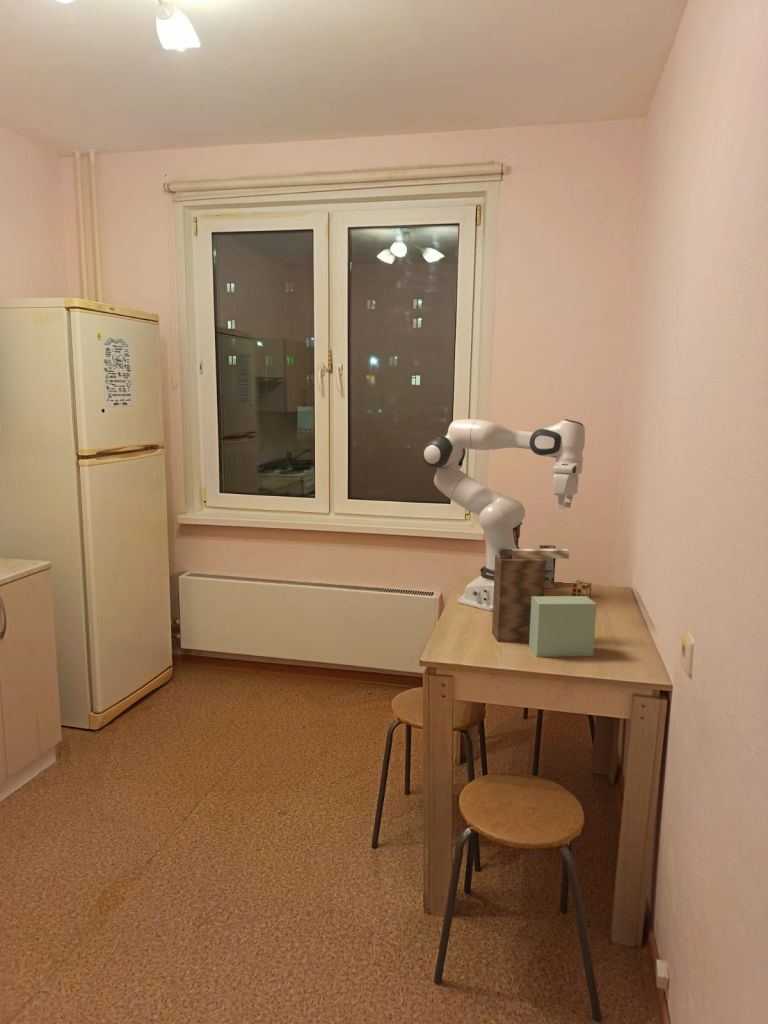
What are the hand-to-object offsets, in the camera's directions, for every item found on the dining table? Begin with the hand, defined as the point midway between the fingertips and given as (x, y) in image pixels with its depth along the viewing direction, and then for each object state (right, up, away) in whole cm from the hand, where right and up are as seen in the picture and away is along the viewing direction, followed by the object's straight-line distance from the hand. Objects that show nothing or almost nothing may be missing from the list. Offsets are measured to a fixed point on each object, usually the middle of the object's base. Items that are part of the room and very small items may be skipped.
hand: (564, 508), depth 227 cm
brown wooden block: (-20, -41, -15) cm, 48 cm away
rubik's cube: (+16, -35, +33) cm, 50 cm away
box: (-9, -43, -28) cm, 52 cm away
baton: (-15, -16, -19) cm, 29 cm away
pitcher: (-10, -33, +42) cm, 54 cm away
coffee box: (+5, -32, +49) cm, 58 cm away
